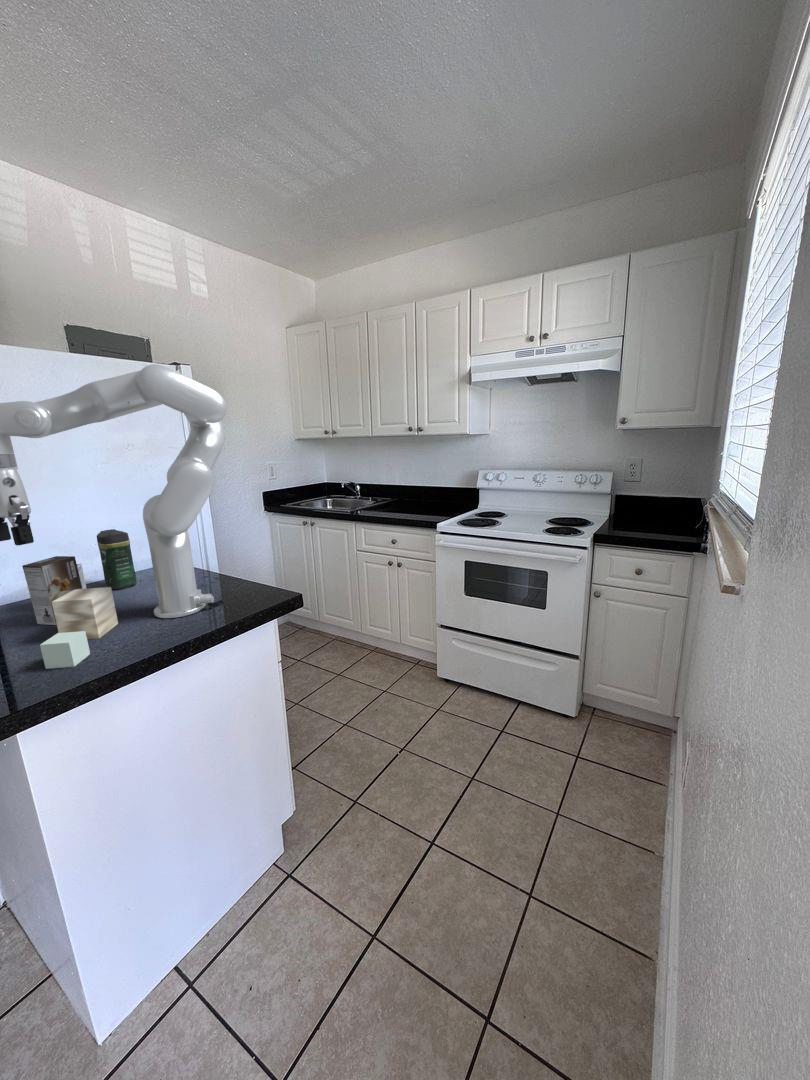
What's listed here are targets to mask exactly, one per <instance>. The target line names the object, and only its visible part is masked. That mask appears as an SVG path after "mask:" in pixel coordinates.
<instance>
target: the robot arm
mask: <svg viewBox="0 0 810 1080" xmlns="http://www.w3.org/2000/svg"><path fill="white" fill-rule="evenodd" d="M162 405H163V406H166V407H169V408H171V409H173V410H174V411H178V412H179V413H182V414H184V416H185V418H186V420H187V421H188V424H189V435H188V437H187V439H186V441H185V442H184V445H183V447H181V450H180V452H179V453H178V455H177V456H176V457H175V459H174V461H173V462H172V464H171V465H170V467H169V468H168V470H167V473H166V481H167V483H166V484H165V486H164V488H163V490H162V491H161V493H160V494H156V495H154V496H152V497H150V498H149V499H148V500H147V501H146V502H145V504H144V505H143V509H142V519H143V524H144V528H145V532H146V536H147V537H146V538H147V541H148V547H149V553H150V559H151V563H152V564H151V565H152V569H153V576H154V583H155V588H156V592H157V599H158V605H157V606H156V607H155V608H154V609H153V615H154V616H155V617H157V618H160V619H175V618H180V617H186V616H190V615H193V614H195V613H198V612H200V611H201V610H203V609H204V608H205V607H206V604H211V603H214V601H215V597H214V595H213V594H212V593H202V590H201V589H200V588H199V589H198V588H197V582H196V581H197V580H196V574H195V567H194V560H193V554H192V553H193V552H192V546H191V541H190V535H189V531H188V530H189V529H190V528H191V526H193V524H194V522H195V521H196V520H197V519H196V518H197V517H198V515H199V513H201V510H202V509H203V507H204V505H205V504H206V502H207V500H208V499H209V496H210V495H211V493H212V491H213V488H214V485H215V476H214V473H213V467H214V466H215V464H216V462H217V460H218V458H219V456H220V455H221V452H222V450H223V447H224V443H225V431H224V429H225V428H224V426H223V421H222V420H223V419H224V418H225V416H226V414H227V410H228V408H227V403H226V400H225V398H224V397H223V396H222V394H221V393H219V392H218V391H217V390H215V389H213V388H211V387H209V386H208V385H205V384H203V383H200V382H199V381H197V380H195V379H192V378H190V377H189V376H186V375H184V374H182V373H180V372H178V371H176V370H173V369H171V368H169V367H166V366H164V365H161V364H148V365H146V366H144V367H143V368H142V369H141V370H137V371H132V372H129V373H125V374H121V375H116V376H113V377H108V378H104V379H100V380H95V381H91V382H89V383H87V384H83V385H81V386H80V387H78V388H77V389H75V390H73V391H70V392H68V393H64V394H62V395H58V396H55V397H51V398H48V399H47V398H46V399H43V400H38V401H35V402H33V401H28V400H27V401H26V400H18V401H17V400H16V401H9V402H0V542H4V541H10V540H11V539H13V543H14V545H15V546H16V547H17V546H23V545H29V544H33V543H34V537H33V536H34V535H33V531H32V528H31V527H32V526H31V521H30V517H31V515H30V514H31V513H32V509H31V505H30V502H29V499H28V496H27V491H26V489H25V486H24V483H23V480H22V478H21V476H20V474H19V471H18V469H19V467H18V463H17V459H16V454H15V451H14V447H13V443H12V439H11V437H20V438H21V437H23V438H29V439H42V438H44V437H48V436H51V435H56V434H59V433H63V432H65V431H69V430H73V429H76V428H79V427H82V426H83V427H84V426H87V425H90V424H97V423H102V422H106V421H109V420H114V419H116V418H120V417H124V416H127V415H129V414H133V413H136V412H141V411H143V410H144V411H145V410H148V409H151V408H154V407H158V406H162ZM6 519H7V520H8V521H6ZM8 522H9V523H10V525H11V527H9V524H8ZM10 531H11V533H10Z"/></svg>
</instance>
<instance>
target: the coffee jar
mask: <svg viewBox="0 0 810 1080" xmlns="http://www.w3.org/2000/svg"><path fill="white" fill-rule="evenodd" d="M96 542H97V546H98V550H99V554H100V559H101V565H102V571H103V577H104V583H105V587H111V589H112V590H118V589H119V590H120V589H128V588H130V587H132V586H135V585H137V581H138V580H137V575H136V571H135V565H134V561H133V560H134V559H133V555H132V549H131V548H132V547H131V543H130V542H131V541H130V537H129V534H128V532H125V531H122V530H118V529H114V528H112V529H105V530H101V531H100V532H98V533H97V535H96Z"/></svg>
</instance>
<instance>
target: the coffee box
mask: <svg viewBox="0 0 810 1080" xmlns="http://www.w3.org/2000/svg"><path fill="white" fill-rule="evenodd" d="M77 564H78V563H77V560H76V556H75V555H74V556H71V555H70V556H66V555H61V556H60V555H56V556H52V557H49V558H45V559H41V560H37V561H34V562H30V563H26V564H23V565H21V567H22V570H23V573H24V578H25V581H26V585H27V589H28V593H29V597H30V600H31V604H32V607H33V612H34V615H35V620H36V623H37V625H49V626H50V625H51V626H57V623H56V619H55V614H54V610H53V606H52V601H54V600H56V599H58V598H60V597H62V596H63V595H65V594H67V593H69V592H71V591H73V590H75V589H82V585H81V580H80V576H79V572H78V568H77Z"/></svg>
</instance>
